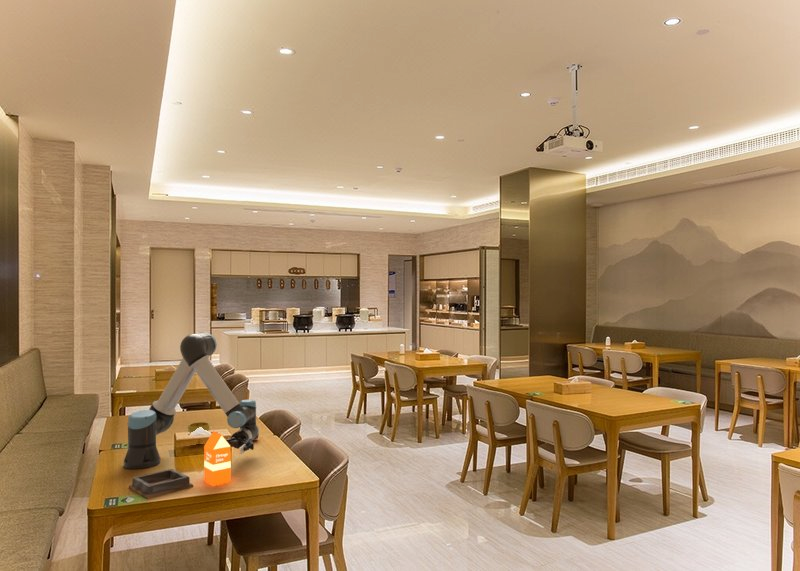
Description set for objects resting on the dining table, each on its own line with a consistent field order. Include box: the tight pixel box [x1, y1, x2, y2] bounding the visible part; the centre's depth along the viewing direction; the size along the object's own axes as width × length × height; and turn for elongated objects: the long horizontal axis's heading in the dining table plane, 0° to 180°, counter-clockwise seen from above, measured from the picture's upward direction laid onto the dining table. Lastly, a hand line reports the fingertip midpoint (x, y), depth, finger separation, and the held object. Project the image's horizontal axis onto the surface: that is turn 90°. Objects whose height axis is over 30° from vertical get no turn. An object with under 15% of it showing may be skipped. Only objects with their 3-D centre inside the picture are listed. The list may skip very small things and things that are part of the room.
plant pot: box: [187, 421, 210, 434], centre depth 297 cm, size 10×10×10 cm
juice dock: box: [128, 468, 194, 499], centre depth 228 cm, size 18×18×4 cm
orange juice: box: [203, 430, 232, 487], centre depth 235 cm, size 8×9×20 cm
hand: (224, 451), depth 240 cm, fingers open, 13 cm apart
